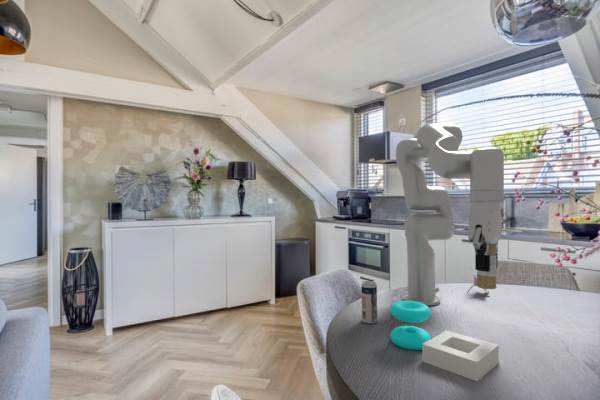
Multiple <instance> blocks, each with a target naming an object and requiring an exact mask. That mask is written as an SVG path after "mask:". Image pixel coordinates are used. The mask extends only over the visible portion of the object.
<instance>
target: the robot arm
mask: <svg viewBox="0 0 600 400" xmlns="http://www.w3.org/2000/svg"><path fill="white" fill-rule="evenodd" d="M462 141H463V132H462V129H461V128H460V127H459V126H458V125H456V124H453V123H429V124H425V125H422V126H421V127H420V128H419V129H418V130H417V132H416V138H412V137H411V138H406V139H403V140H400V141H399V142H398V143H397V145H396V148H395V161H396V165H397V168H398V170H399V172H400V175H401V179H402V188H403V194H404V202H405V203H404V204H405V206H406V208H407V210H408V211H411V212H419V213H421V212H425V213H426V212H433V213H434V214H430V213H427V214H425V213H423V214H422V213H421V214H412V215H410V216H408V217H407V218H406V219H405V221H404V224H403V225H404V226H403V227H404V233H405V234H404V235H405V239H406V247H407V248H406V251H407V252H406V253H407V256H406V257H407V261H406V262H407V293H406V294H405V295H403V301H415V302H420V303H423V304H425V305H427V306H428V307H429V306H437V305H439V304H440V303H441V298H439V296H437V295H436V293H438V292H439V291H440V288H439V287H438V286H436V255H435V250H434V249H433V247H432V246H431V244H430V243H429V241H445V240H446V241H447V240H450V239H452V238H453V237H454V234H455V230H456V229H455V225H456V224H455V220H454V213H453V207H452V201H451V196H450V193H449V191H448V190H447V189H446V188H445V187H443V186H438V185H437V186H436V185H431V186H430V185H428V182H427V177H426V174H425V172H424V170H423V169H422V167H420V166H419V164H417V163H416V162H428V166H429V168H430V169H431V171H433V172H434V173H435V175H437V176H438V177H440V178H442V179H447V180H453V179H454V180H458V179H459V180H464V179H466V180H469V203H470V207H469V208H470V209H469V217H468V230H467V231H468V232H467V235H468V236H467V239H468V242H470V243H472V246H473V248H474V255H475V257H474V258H475V268H474V269H475V270H476V271H477V270H479V271H486V272H489V271H490V255H488V251H489V243H491V242H493V241H494V238H495V237H496V236H497V243H496V269H497V268H498V264H499V263H498V257H499V256H498V254H499V253H498V251H499V249H498V248H499V246H498V245H499V241H500V240H501V238H502V237H503V236H502V235H503V234H502V232H503V219H502V218H503V217H502V206H501V205H502V204H504V203H505V200H504V199H505V195H504V193H505V192H504V190H505V186H504V183H505V181H504V180H505V179H504V178H505V173H504V172H505V170H504V169H505V167H504V166H505V159H504V156H505V155H504V151H503V150H502V149H501V148H499V147H484V148H483V147H482V148H476V149H474V150H471V151H466V150H465V151H464V150H463V151H461V150H460V151H459V148H460V145H461V144H462ZM481 240H484V241H485V242H481ZM483 245H485V249H484V246H483Z"/></svg>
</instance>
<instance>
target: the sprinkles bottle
mask: <svg viewBox="0 0 600 400" xmlns="http://www.w3.org/2000/svg"><path fill="white" fill-rule="evenodd" d="M481 242H485V241H484V240H481ZM496 243H497V236H496V237H495V238H494V241H493V242H491V243H489V251H488V255H490V271H489V272H486V271H479V270H476V277H477V286H476V287H478V288H479V289H482V290H484V289H485V290H486V289H487V290H495V289H497V268H496ZM483 246H484V249H485V245H483Z"/></svg>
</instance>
